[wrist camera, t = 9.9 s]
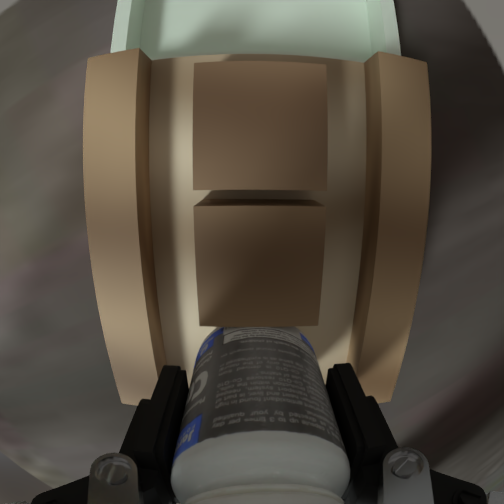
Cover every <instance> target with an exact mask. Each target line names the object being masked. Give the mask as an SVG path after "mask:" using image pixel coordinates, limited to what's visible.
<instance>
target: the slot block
mask: <svg viewBox="0 0 504 504" xmlns="http://www.w3.org/2000/svg"><path fill="white" fill-rule="evenodd" d="M218 61H281V62H299V63H313V64H324V65H326V70H327V105H328V166H327V191H309V190H193V146H192V141H193V78H194V63H199V62H218ZM83 172H84V195H85V210H86V222H87V233H88V242H89V251H90V258H91V266H92V273H93V279H94V286H95V292H96V298H97V303H98V308H99V314H100V319H101V324H102V328H103V333H104V338H105V342H106V346H107V350H108V355H109V359H110V363H111V366H112V370H113V374H114V378H115V381H116V385H117V388H118V392H119V395H120V398H121V402H122V403H124V404H131V405H138V404H139V402H140V400H141V399H151V397H152V394H153V391H154V389H155V386H156V383H157V381H158V378H159V376H160V373H161V370H162V368H163V366H164V365H175V366H180V367H181V370H186V373H187V380H188V386H189V387H190V383H191V379H192V375H193V369H194V365H195V361H196V357H197V354H198V351H199V349H200V346H201V344H202V343H203V341H204V340H205V338H206V337H207V336H208V335H209V334H210V333H211V332H212V331H213V330H214V329H215V328H217V327H207V326H199V312H198V298H197V282H196V263H195V242H194V214H193V206H194V205H196V204H197V203H199V202H200V201H201V200H203V199H303V200H315V201H317V202H319V203H320V204H322V205H324V206H326V229H325V247H324V263H323V276H322V289H321V301H320V312H319V322H318V326H295V327H296V328H298V329H299V330H300V331H301V332H302V333H303V334H304V335H305V336H306V337H307V339H308V340H309V342H310V343H311V345H312V347H313V350H314V352H315V355H316V358H317V360H318V363H319V366H320V370H321V373H322V376H323V380H324V383H325V385H326V379H327V372H328V369H329V368H333V366H334V364H340V363H351V365H352V367H353V369H354V372H355V374H356V376H357V378H358V380H359V382H360V384H361V387H362V389H363V391H364V393H365V395H366V396H371V395H372V396H373V397H374V398H375V399H376V401H377V403H382V402H389V401H390V400H391V397H392V394H393V391H394V388H395V384H396V381H397V378H398V374H399V371H400V367H401V364H402V360H403V356H404V352H405V349H406V345H407V341H408V336H409V332H410V328H411V323H412V319H413V314H414V309H415V304H416V299H417V294H418V288H419V282H420V276H421V270H422V263H423V256H424V249H425V241H426V232H427V222H428V211H429V198H430V180H431V108H430V91H429V79H428V68H427V62H424V61H420V60H416V59H412V58H408V57H404V56H399V55H395V54H390V53H385V52H380V51H378V52H376V53H375V54H374V55H373V56H371V57H370V58H369V59H368V60H367V61H365V62H364V63H362V62H355V61H348V60H341V59H332V58H323V57H312V56H299V55H281V54H217V55H199V56H186V57H176V58H166V59H158V60H151V59H150V58H149V57H148V56H147V55H146V54H145V53H144V52H143V51H142V50H141V49H140V48H135V49H129V50H124V51H118V52H113V53H109V54H104V55H100V56H95V57H91V58H88V62H87V72H86V84H85V98H84V120H83Z"/></svg>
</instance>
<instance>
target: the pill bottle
mask: <svg viewBox="0 0 504 504" xmlns="http://www.w3.org/2000/svg"><path fill="white" fill-rule="evenodd" d="M349 480H350V464H349V460H348V456H347V452H346V449H345V446H344V443H343V440H342V437H341V433H340V431H339V427H338V424H337V421H336V418H335V415H334V411H333V408H332V405H331V402H330V399H329V395H328V392H327V389H326V386H325V383H324V380H323V376H322V373H321V370H320V366H319V363H318V360H317V358H316V355H315V352H314V350H313V347H312V345H311V343H310V342H309V340H308V339H307V337H306V336H305V335H304V334H303V333H302V332H301V331H300V330H299V329H298V328H296V327H295V326H292V327H217V328H215V329H214V330H213V331H212V332H211V333H210V334H209V335H208V336H207V337H206V338H205V340H204V341H203V343H202V344H201V346H200V349H199V351H198V354H197V357H196V361H195V365H194V369H193V375H192V379H191V383H190V387H189V392H188V396H187V400H186V405H185V409H184V413H183V418H182V422H181V426H180V432H179V436H178V439H177V444H176V448H175V453H174V458H173V462H172V469H171V485H172V489H173V492H174V494H175V496H176V498H177V499H178V500H179V502H180V503H181V504H344V501H343V500H342V499H341V497H342V495H343V494H344V492H345V490H346V489H347V487H348V484H349Z"/></svg>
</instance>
